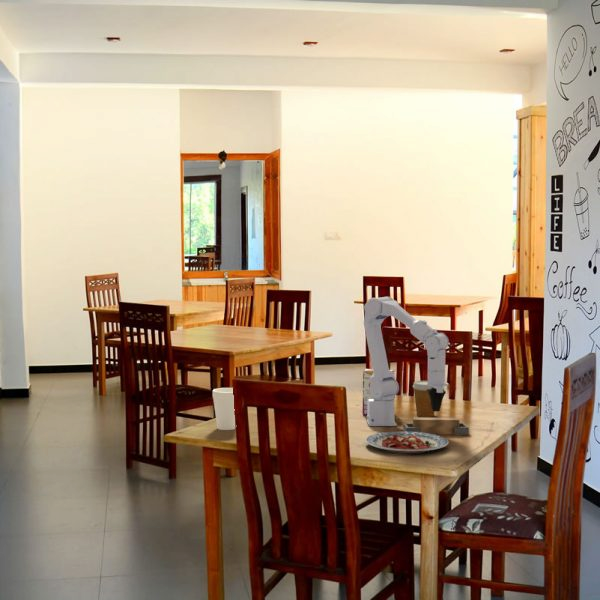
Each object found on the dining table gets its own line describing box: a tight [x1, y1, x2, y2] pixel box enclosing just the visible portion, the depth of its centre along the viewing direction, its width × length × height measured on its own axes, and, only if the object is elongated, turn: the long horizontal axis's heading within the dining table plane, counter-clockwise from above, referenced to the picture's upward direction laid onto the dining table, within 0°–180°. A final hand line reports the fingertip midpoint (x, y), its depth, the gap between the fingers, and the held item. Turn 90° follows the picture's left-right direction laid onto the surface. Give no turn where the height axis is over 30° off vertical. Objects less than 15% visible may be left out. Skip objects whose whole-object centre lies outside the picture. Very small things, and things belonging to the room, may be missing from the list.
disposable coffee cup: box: [412, 380, 436, 418], centre depth 335 cm, size 10×10×12 cm
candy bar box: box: [361, 368, 395, 416], centre depth 336 cm, size 11×5×16 cm, turn 80°
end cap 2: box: [453, 422, 470, 436], centre depth 307 cm, size 5×7×2 cm, turn 2°
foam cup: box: [212, 387, 236, 431], centre depth 313 cm, size 10×9×13 cm
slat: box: [412, 416, 460, 435], centre depth 306 cm, size 15×4×5 cm, turn 88°
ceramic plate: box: [365, 430, 449, 454], centre depth 287 cm, size 26×26×3 cm
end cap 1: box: [402, 422, 421, 432], centre depth 306 cm, size 5×7×2 cm, turn 2°
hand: (435, 410), depth 306 cm, fingers closed
